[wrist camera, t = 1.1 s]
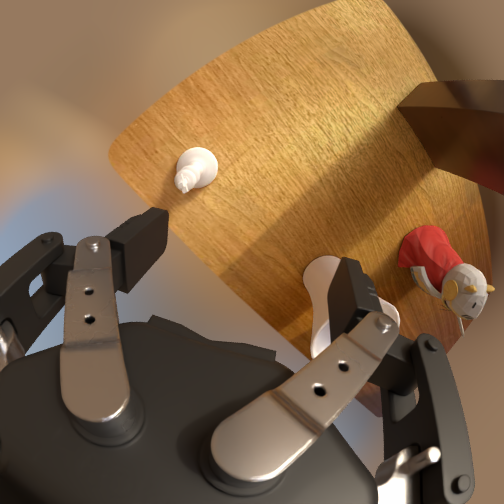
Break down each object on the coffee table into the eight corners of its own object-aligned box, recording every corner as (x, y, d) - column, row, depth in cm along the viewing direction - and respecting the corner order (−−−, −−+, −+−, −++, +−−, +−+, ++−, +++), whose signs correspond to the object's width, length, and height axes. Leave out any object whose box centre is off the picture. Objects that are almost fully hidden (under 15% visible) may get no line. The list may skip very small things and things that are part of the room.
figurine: (380, 275, 39) (429, 340, 26) (416, 212, 34) (483, 259, 21) (427, 294, 42) (471, 347, 28) (458, 241, 37) (513, 285, 24)
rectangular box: (396, 106, 28) (518, 116, 10) (421, 82, 26) (536, 83, 8) (434, 167, 31) (541, 215, 13) (456, 142, 30) (559, 177, 12)
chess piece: (185, 193, 32) (165, 220, 23) (171, 155, 30) (144, 169, 21) (223, 180, 31) (217, 202, 23) (210, 141, 29) (198, 147, 20)
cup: (325, 227, 35) (368, 282, 23) (370, 268, 38) (414, 326, 26) (273, 281, 38) (289, 352, 26) (322, 314, 41) (347, 380, 29)
